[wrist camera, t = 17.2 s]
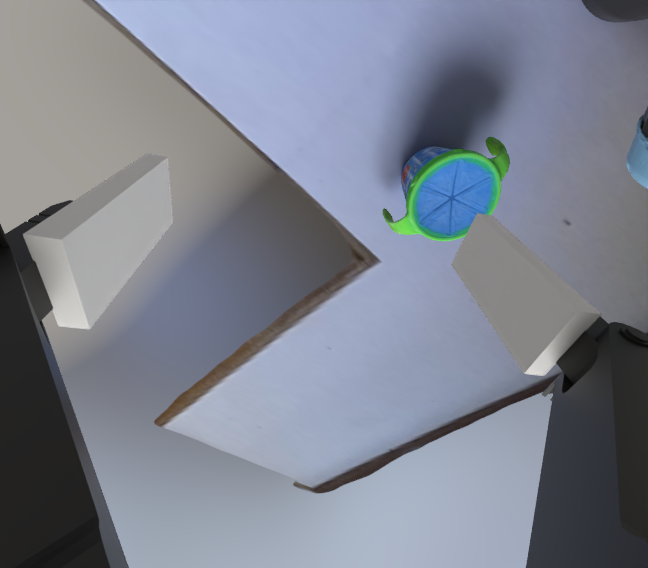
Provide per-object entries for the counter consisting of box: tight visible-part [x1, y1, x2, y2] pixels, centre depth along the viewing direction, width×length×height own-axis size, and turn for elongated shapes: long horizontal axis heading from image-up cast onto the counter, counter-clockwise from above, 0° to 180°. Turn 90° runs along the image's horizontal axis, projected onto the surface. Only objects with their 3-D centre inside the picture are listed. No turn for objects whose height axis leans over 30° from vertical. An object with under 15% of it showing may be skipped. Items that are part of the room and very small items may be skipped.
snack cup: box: [383, 137, 510, 241], centre depth 41 cm, size 16×10×10 cm
